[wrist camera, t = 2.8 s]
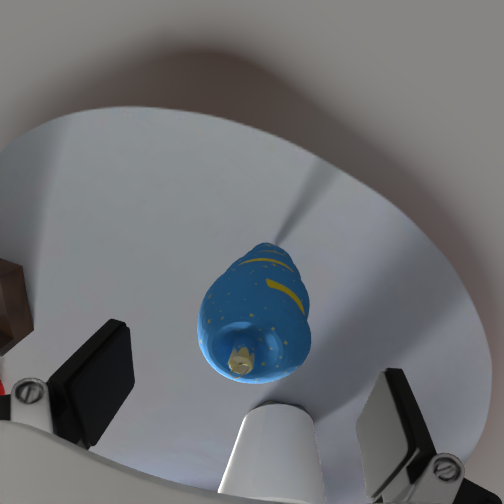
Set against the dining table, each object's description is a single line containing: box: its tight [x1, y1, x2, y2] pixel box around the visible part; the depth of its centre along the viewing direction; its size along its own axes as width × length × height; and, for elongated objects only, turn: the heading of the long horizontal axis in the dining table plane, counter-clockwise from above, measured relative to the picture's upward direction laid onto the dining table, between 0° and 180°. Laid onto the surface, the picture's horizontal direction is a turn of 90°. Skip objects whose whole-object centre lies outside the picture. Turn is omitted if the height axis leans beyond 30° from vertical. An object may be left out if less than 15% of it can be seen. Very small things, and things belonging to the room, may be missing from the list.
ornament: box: [197, 243, 311, 383], centre depth 17 cm, size 5×5×15 cm
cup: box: [217, 401, 327, 504], centre depth 24 cm, size 10×10×13 cm
